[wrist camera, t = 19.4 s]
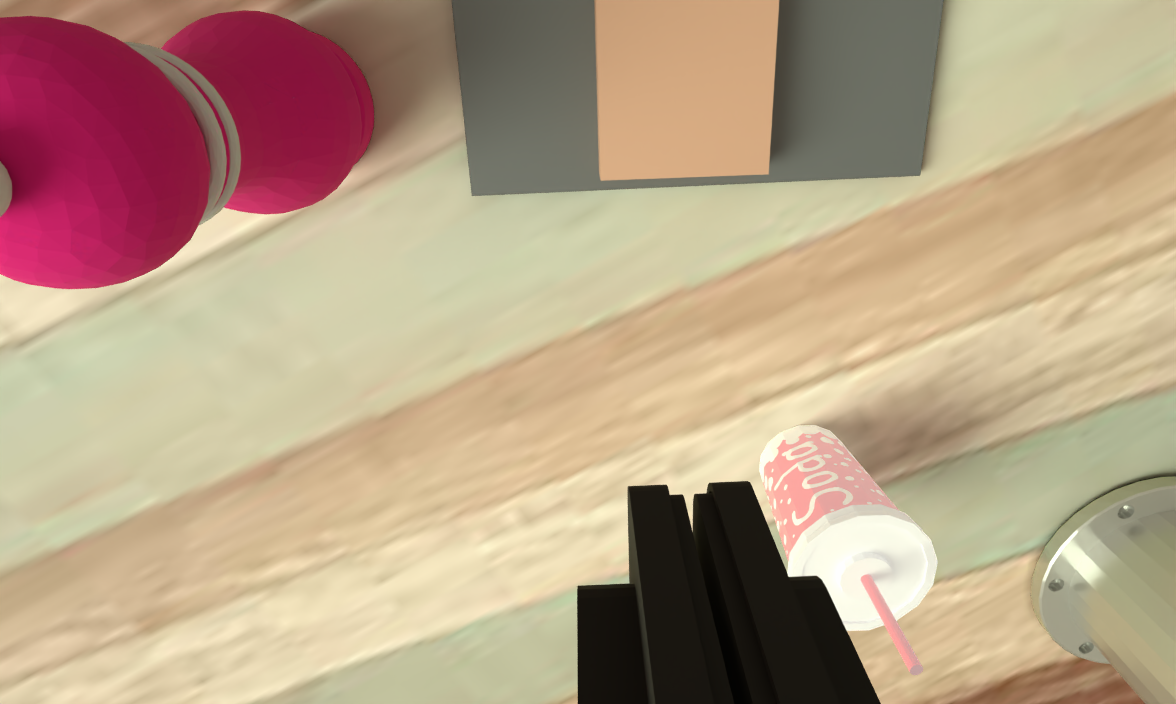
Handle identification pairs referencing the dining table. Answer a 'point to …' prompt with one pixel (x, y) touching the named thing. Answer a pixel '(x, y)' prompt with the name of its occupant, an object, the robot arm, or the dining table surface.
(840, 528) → the beverage cup
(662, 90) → the tile
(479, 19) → the mat
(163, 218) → the pepper mill
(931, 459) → the dining table surface
